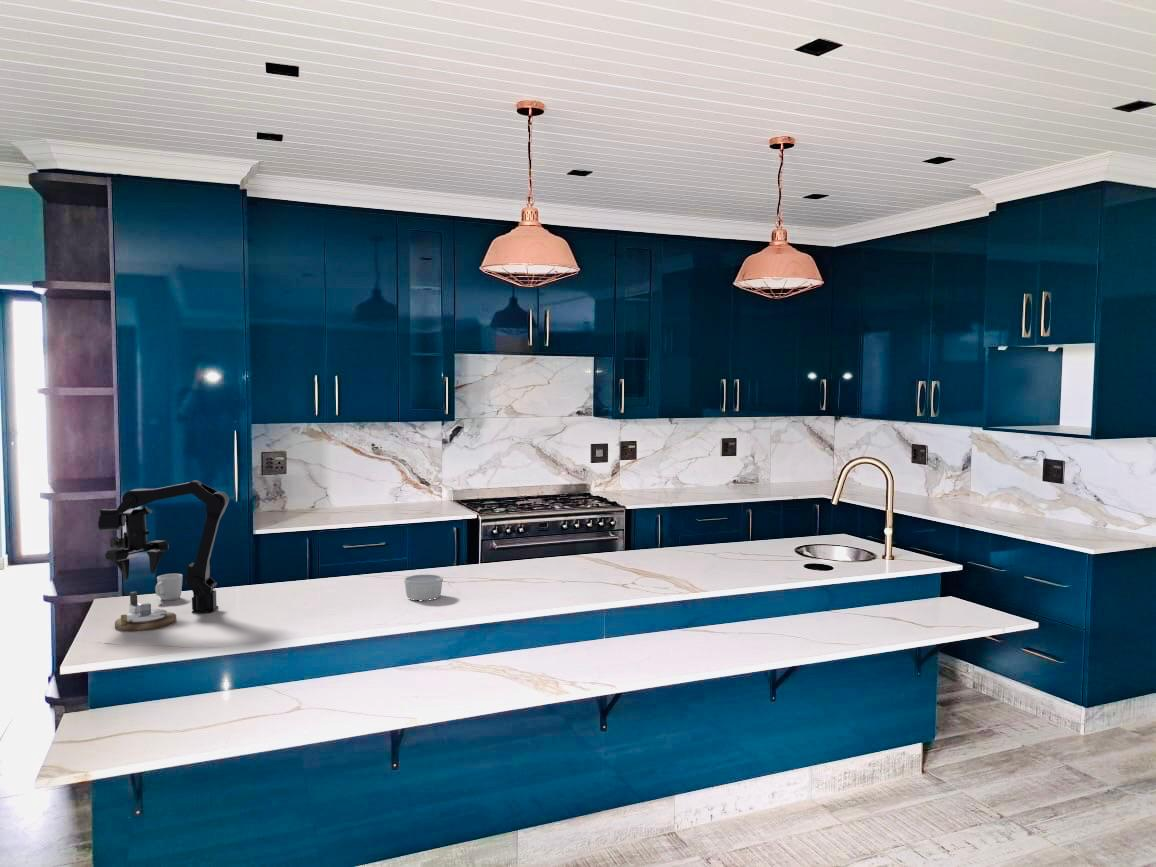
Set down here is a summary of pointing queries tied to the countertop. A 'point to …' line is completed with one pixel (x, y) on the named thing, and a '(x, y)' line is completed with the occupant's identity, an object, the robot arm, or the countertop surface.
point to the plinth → (144, 624)
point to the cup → (169, 586)
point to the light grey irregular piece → (143, 611)
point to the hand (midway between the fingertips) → (139, 576)
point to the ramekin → (423, 586)
